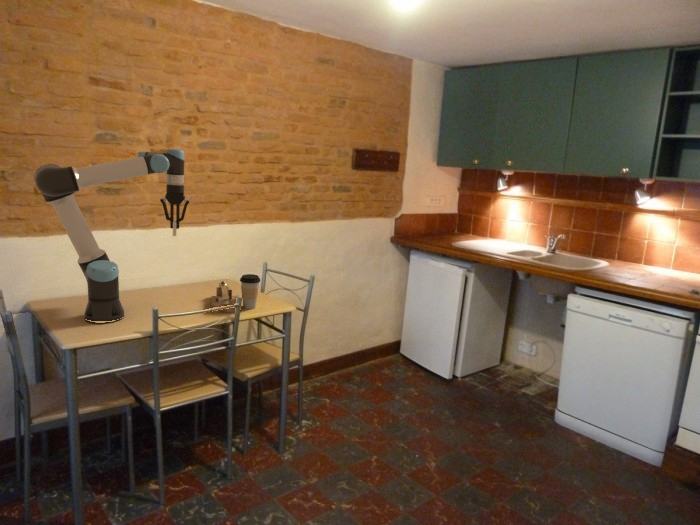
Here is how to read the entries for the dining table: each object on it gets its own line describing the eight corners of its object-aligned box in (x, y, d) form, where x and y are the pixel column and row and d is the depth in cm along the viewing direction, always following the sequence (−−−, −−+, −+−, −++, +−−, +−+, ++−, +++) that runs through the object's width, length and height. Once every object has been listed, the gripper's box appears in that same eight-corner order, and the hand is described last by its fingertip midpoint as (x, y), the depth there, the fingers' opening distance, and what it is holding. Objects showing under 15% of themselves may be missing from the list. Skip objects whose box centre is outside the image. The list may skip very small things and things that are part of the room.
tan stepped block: (211, 313, 229) (211, 296, 227) (211, 303, 242) (211, 287, 240) (239, 312, 232) (239, 295, 230) (237, 302, 245) (237, 286, 243)
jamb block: (216, 300, 246) (216, 290, 245) (216, 296, 252) (216, 286, 251) (229, 300, 248) (229, 290, 247) (228, 296, 254) (229, 286, 253)
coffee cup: (243, 311, 234) (244, 279, 231) (236, 305, 242) (236, 274, 238) (262, 308, 239) (263, 278, 236) (254, 302, 247) (255, 273, 244)
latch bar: (218, 286, 250) (218, 280, 249) (226, 286, 251) (227, 280, 251) (220, 297, 233) (220, 291, 233) (229, 297, 235) (229, 291, 234)
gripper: (158, 183, 224) (158, 236, 229) (189, 185, 227) (189, 237, 233) (161, 182, 231) (160, 233, 237) (191, 184, 234) (190, 234, 240)
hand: (174, 235), depth 235 cm, fingers closed
